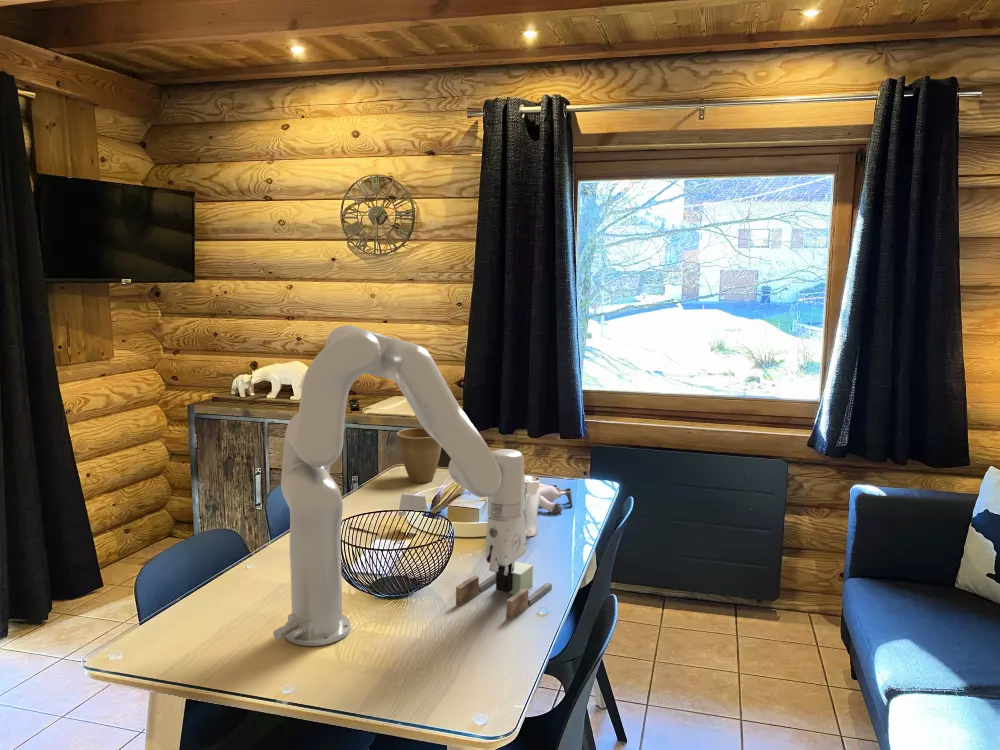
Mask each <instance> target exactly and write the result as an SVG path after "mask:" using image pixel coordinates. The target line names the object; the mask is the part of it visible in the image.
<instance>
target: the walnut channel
mask: <svg viewBox="0 0 1000 750" xmlns="http://www.w3.org/2000/svg"><path fill="white" fill-rule="evenodd" d="M479 579H480V578H479V576H478V575H473V576H470V578H468V579H466V580H464V581H463V582H461V584H458V585H457V586H455V587H456V588H455V605H456V606H458V607H462V606H463V605H465V604H466V603H468V602H470V601H471V600H472V599H474V598H475V597H477V596H478V595H479V593H480V592H479V584H480V583H479V581H480V580H479ZM528 597H529V590H528V589H525V588H523V589H521V590H520V591H519V592H517V593H516V594H514V595H513V594H512V596H511V597H509V598H507V599H506V603H505V604H506V608H505V609H506V610H505V611H506V612H505V619H506V620H509V621H513V620H514V619H515V618H517V617H518V616H519V615H520V614H522V613H523V612H524V611H525V610H527V609H528V608H529V605H528ZM521 612H522V613H521Z"/></svg>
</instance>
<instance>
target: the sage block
mask: <svg viewBox="0 0 1000 750" xmlns="http://www.w3.org/2000/svg"><path fill="white" fill-rule="evenodd" d="M533 571H534V565H533V564H529V563H524V562H520V561H517V560H516V561H515V565H514V571H513V572H511V573H513V589H512V591H510V592H509V593H511V594H510V595H513V594H516V593H517V592H519V591H520V590H521V589H523V588H525V589H529V588H530V587H531V588H532V587H533V585H534V584H533V582H534V581H533V578H534V573H533ZM531 588H530V589H531ZM530 589H529V590H530ZM497 592H499V591H498V590H497ZM509 593H508V594H509Z"/></svg>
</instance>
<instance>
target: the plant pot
mask: <svg viewBox="0 0 1000 750" xmlns="http://www.w3.org/2000/svg"><path fill="white" fill-rule="evenodd" d="M396 433H397V435H396V436H397V441H398V445H399V450H400V455H401V458H402V462H403V465H404V469H405V471H406V474H407V477H408V479H409V481H410V482H412V483H416V484H424V483H425V484H426V483H430V482H432V481H433V479H434V476H435V474H436V472H437V469H438V465H439V460H440V458H441V457H440V456H441V451H442V449H443V448H442V447H441V446H440V445H439V444H438V443H437V442H436V441H435V440H434V439H433V438H432V437H431V436H430V435H429V434H428V433H427V432H426V430H425V429H424V428H423V427H412V428H406V429H401V430H399V431H398V432H396Z"/></svg>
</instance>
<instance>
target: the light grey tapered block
mask: <svg viewBox="0 0 1000 750" xmlns="http://www.w3.org/2000/svg"><path fill="white" fill-rule="evenodd" d="M399 510H414V511H428V512H429V509H428V504H427V500H426V496H424V495H416V494H411V493H410V494H409V493H401V496H400V503H399V506H398V517H399V516H404V515H405V514H406V512H399Z"/></svg>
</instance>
